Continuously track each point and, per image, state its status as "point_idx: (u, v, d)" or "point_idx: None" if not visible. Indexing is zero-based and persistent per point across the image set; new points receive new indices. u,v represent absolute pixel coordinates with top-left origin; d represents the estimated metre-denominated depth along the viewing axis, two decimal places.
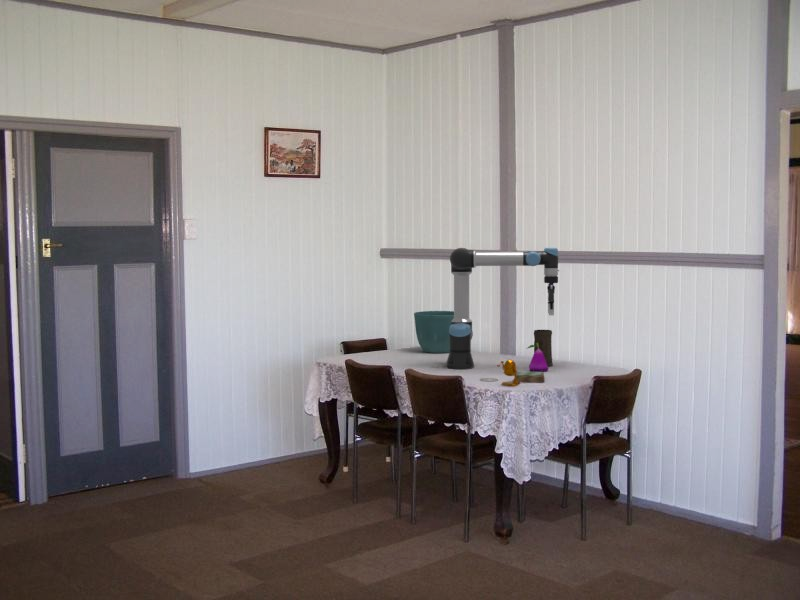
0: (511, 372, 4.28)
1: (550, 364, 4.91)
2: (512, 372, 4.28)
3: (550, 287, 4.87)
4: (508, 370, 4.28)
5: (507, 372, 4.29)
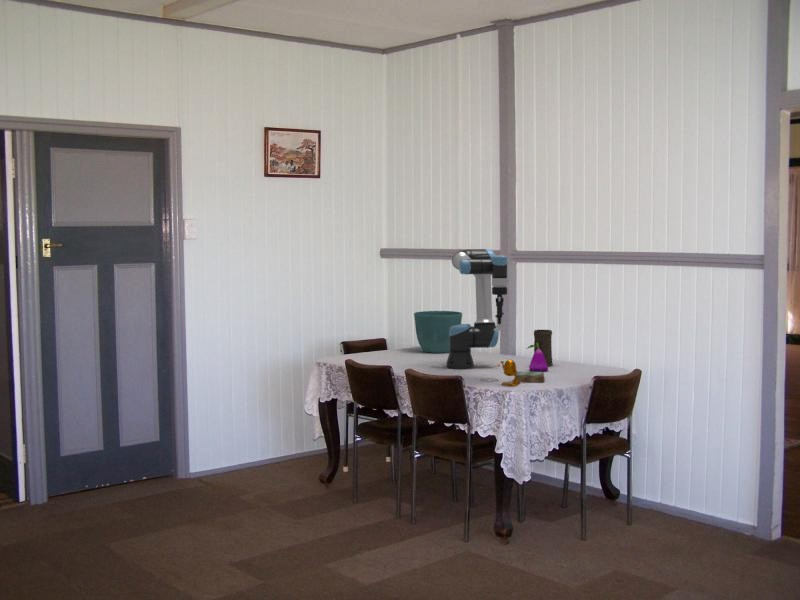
0: (511, 372, 4.28)
1: (550, 364, 4.91)
2: (512, 372, 4.28)
3: (498, 299, 4.40)
4: (508, 370, 4.28)
5: (507, 372, 4.29)
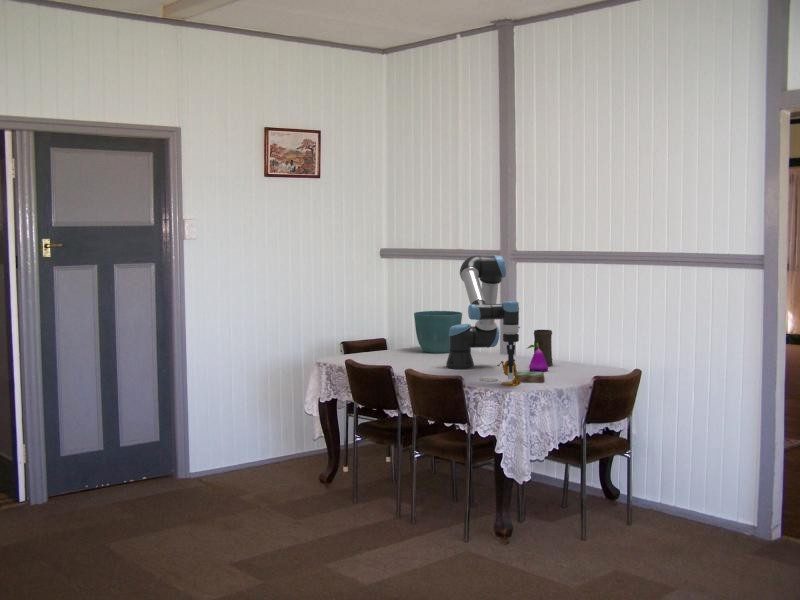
0: None
1: (550, 364, 4.91)
2: None
3: (509, 347, 4.24)
4: None
5: (507, 372, 4.29)
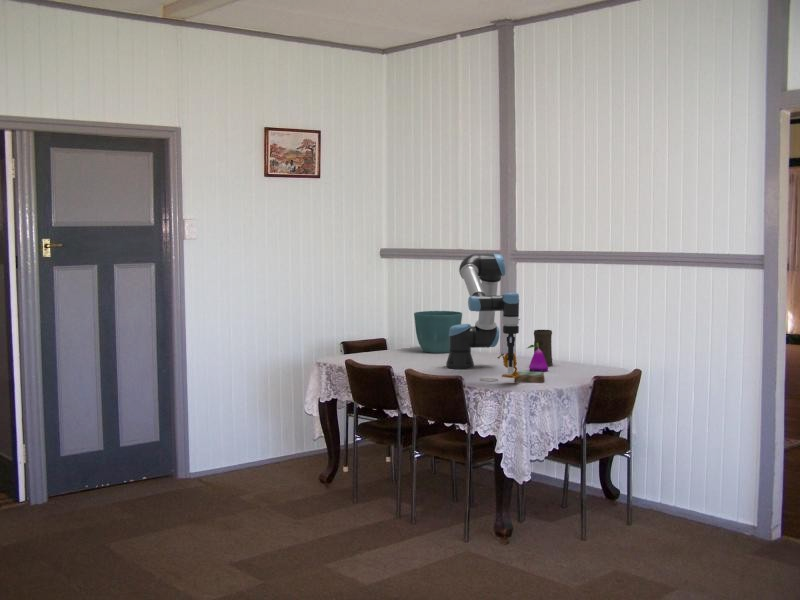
0: None
1: (550, 364, 4.91)
2: None
3: (509, 341, 4.24)
4: None
5: (507, 364, 4.31)
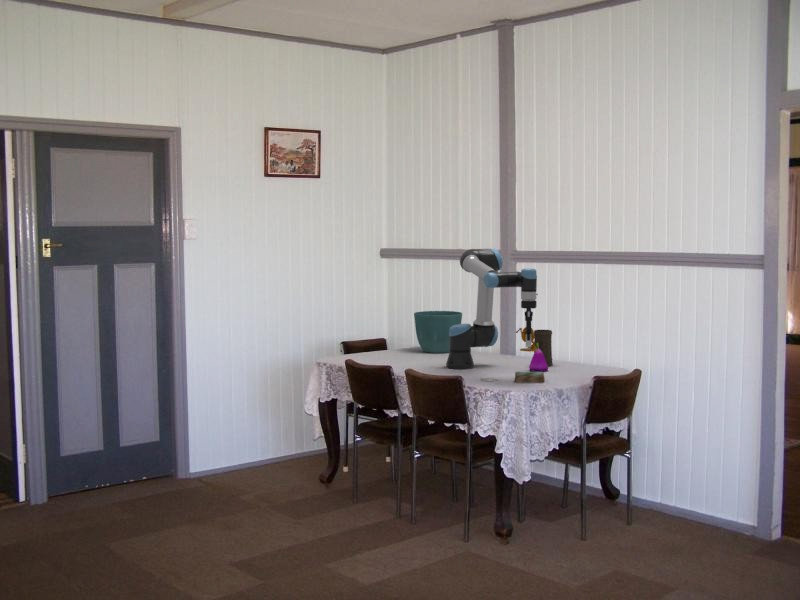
0: None
1: (550, 364, 4.91)
2: None
3: (527, 315, 4.35)
4: None
5: (525, 338, 4.42)
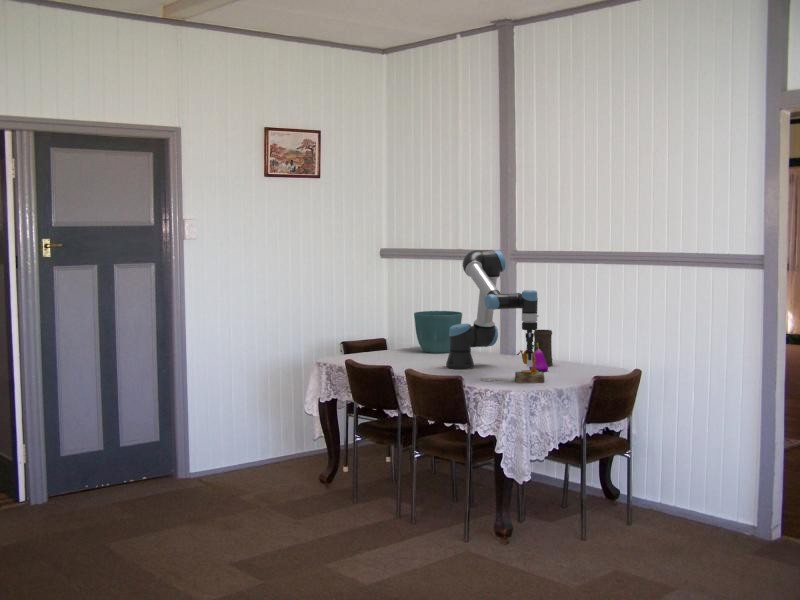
0: None
1: (550, 364, 4.91)
2: None
3: (528, 335, 4.36)
4: None
5: (526, 361, 4.43)
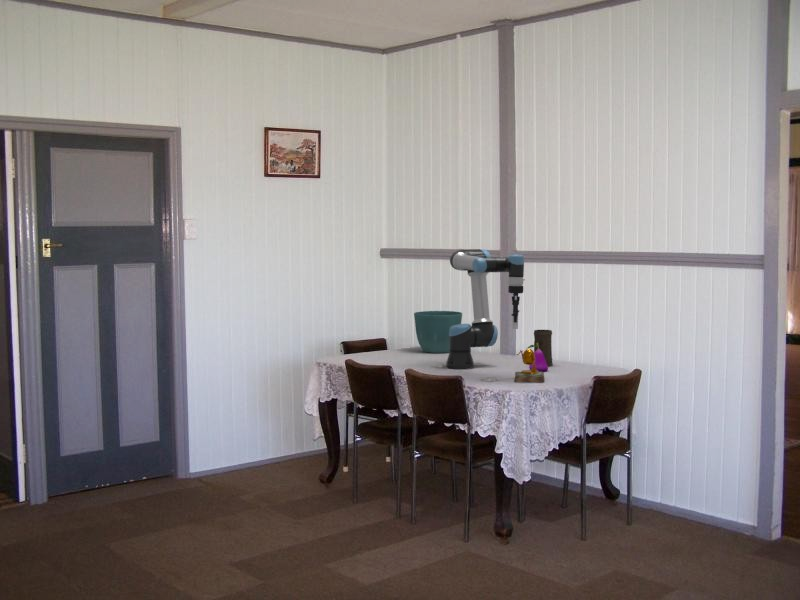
0: (530, 361, 4.42)
1: (550, 364, 4.91)
2: (531, 361, 4.42)
3: (514, 298, 4.47)
4: (527, 359, 4.42)
5: (526, 361, 4.43)
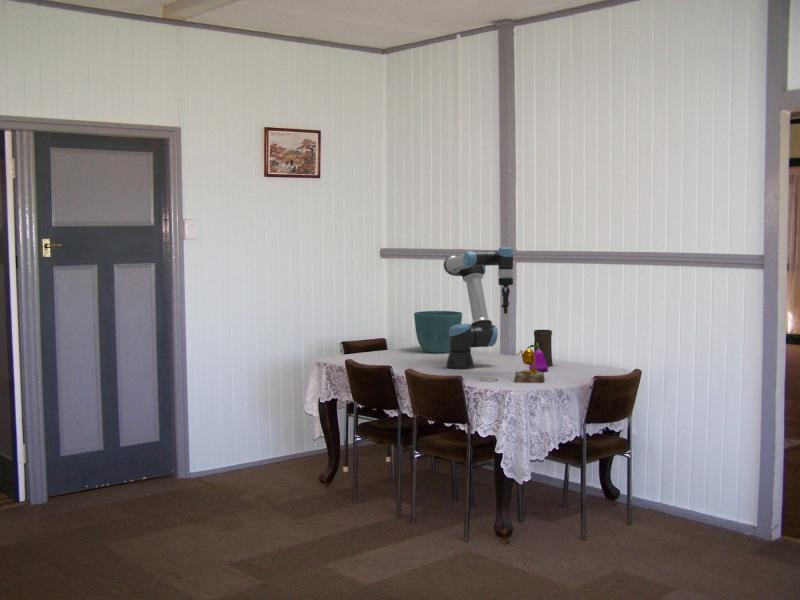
0: (530, 361, 4.42)
1: (550, 364, 4.91)
2: (531, 361, 4.42)
3: (504, 289, 4.55)
4: (527, 359, 4.42)
5: (526, 361, 4.43)
